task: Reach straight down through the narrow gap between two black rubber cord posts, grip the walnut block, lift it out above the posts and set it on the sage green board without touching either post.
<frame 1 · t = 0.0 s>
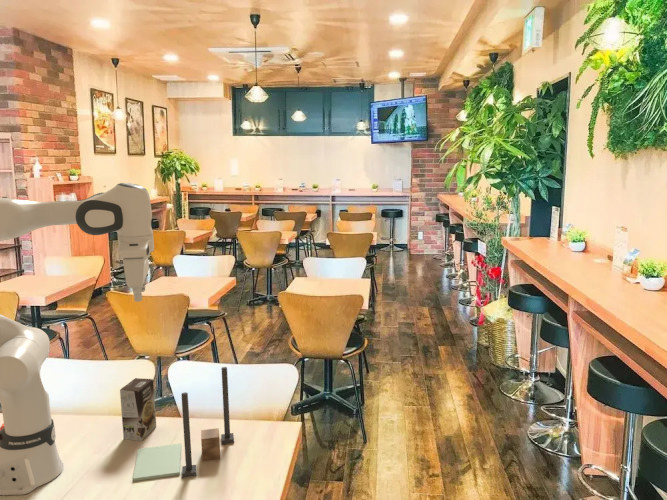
hand: (140, 295, 150), 48 cm above the table, tool pointing down, fingers open, 8 cm apart
front cord post: (189, 473, 152), on the table
walnut block: (211, 455, 161), on the table
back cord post: (227, 440, 169), on the table
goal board: (158, 462, 157), on the table
coffee box: (140, 433, 174), on the table
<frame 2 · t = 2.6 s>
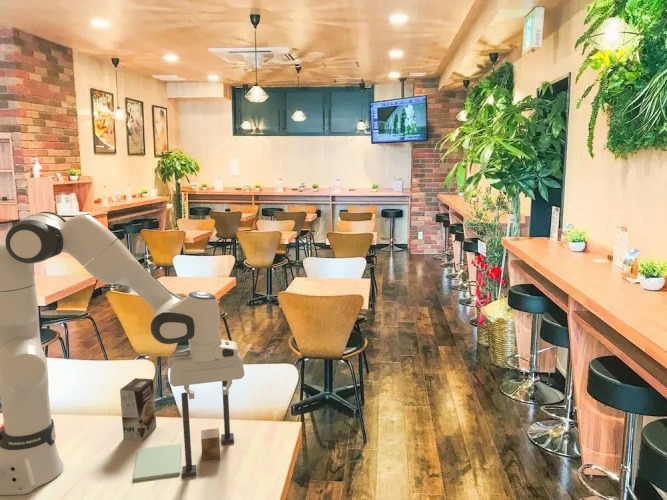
hand: (209, 395, 157), 18 cm above the table, tool pointing down, fingers open, 8 cm apart
nothing on the table moved.
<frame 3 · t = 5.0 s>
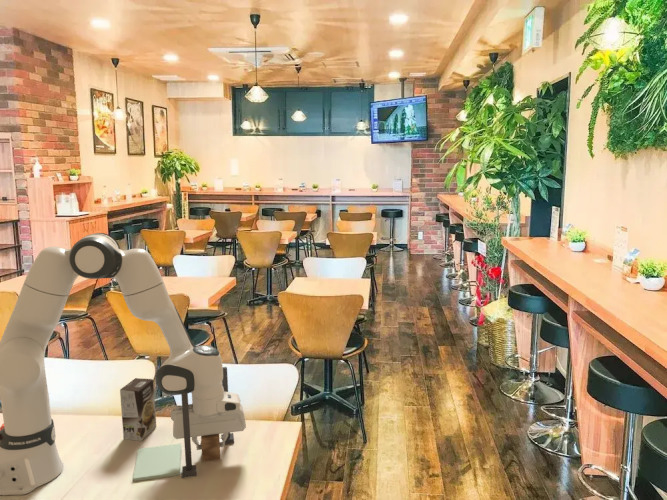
hand: (210, 447, 160), 3 cm above the table, tool pointing down, fingers closed on walnut block, 5 cm apart
walnut block: (211, 455, 161), on the table, touching gripper
everything else where it was.
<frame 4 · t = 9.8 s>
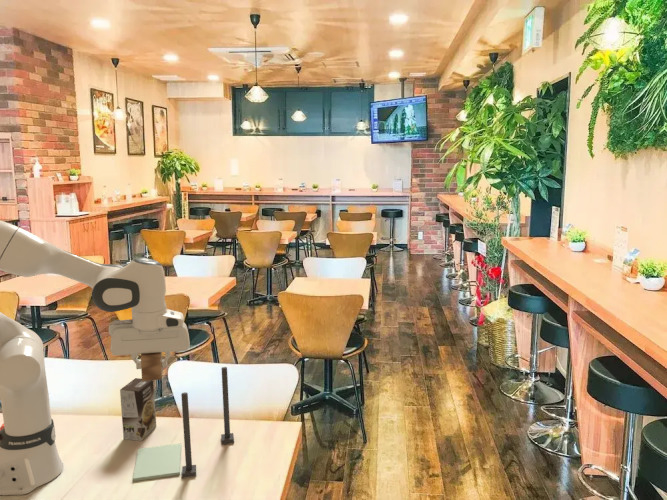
hand: (152, 367, 152), 28 cm above the table, tool pointing down, fingers closed on walnut block, 5 cm apart
walnut block: (152, 376, 152), point 26 cm above the table, touching gripper
everything else where it was.
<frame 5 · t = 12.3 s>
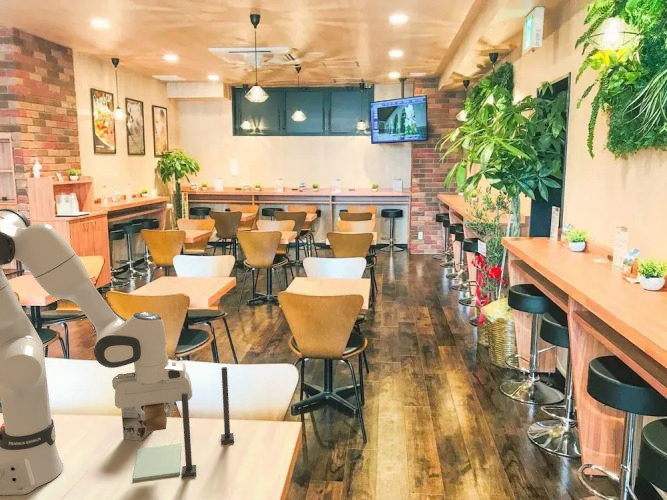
hand: (156, 417, 155), 14 cm above the table, tool pointing down, fingers closed on walnut block, 5 cm apart
walnut block: (157, 425, 155), point 11 cm above the table, touching gripper
everything else where it was.
when the fingers open (5 cm above the table, at t = 14.6 s): walnut block drops 1 cm, resting on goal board.
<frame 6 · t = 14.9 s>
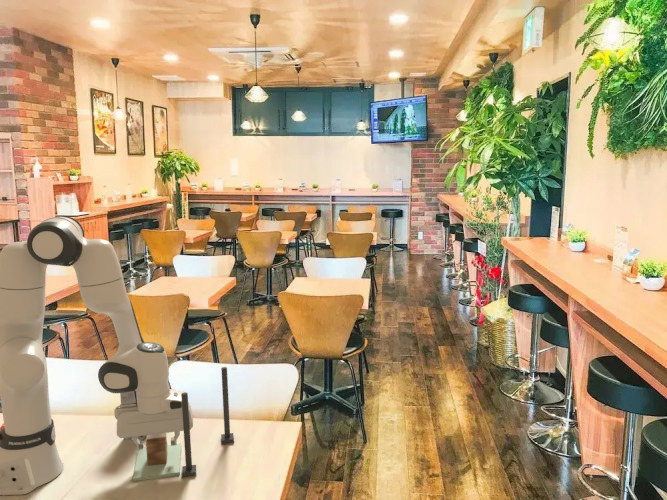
hand: (157, 446, 156), 5 cm above the table, tool pointing down, fingers open, 8 cm apart
walnut block: (157, 459, 157), point 1 cm above the table, touching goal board
everything else where it was.
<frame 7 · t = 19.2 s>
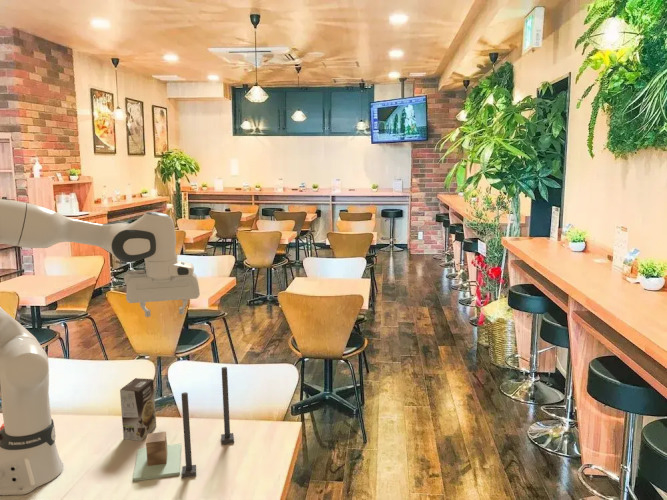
hand: (165, 314, 162), 39 cm above the table, tool pointing down, fingers open, 8 cm apart
nothing on the table moved.
at the end: walnut block inside the target area (0.1 cm from its centre), point 0.8 cm above the table; front cord post moved 0.0 cm from its start; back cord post moved 0.0 cm from its start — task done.
